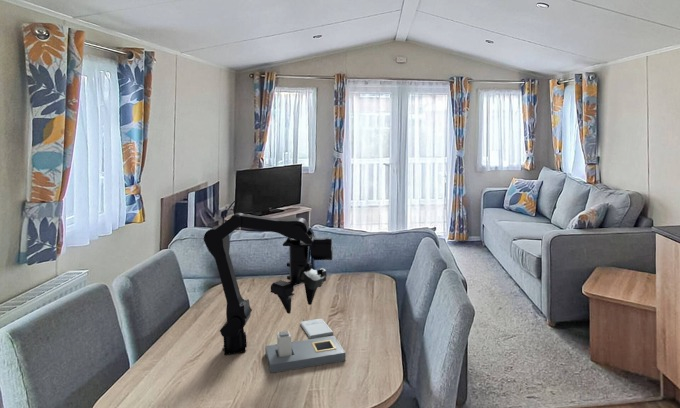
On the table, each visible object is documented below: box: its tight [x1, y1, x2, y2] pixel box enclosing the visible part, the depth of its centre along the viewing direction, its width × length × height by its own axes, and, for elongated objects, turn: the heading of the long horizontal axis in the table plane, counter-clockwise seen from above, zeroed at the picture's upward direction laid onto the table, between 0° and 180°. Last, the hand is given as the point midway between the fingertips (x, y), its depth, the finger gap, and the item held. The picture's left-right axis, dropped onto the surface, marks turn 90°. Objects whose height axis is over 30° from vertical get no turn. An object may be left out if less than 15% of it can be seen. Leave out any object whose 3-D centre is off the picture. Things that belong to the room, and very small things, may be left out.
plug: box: [276, 330, 292, 357], centre depth 126 cm, size 4×4×9 cm
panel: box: [264, 335, 346, 374], centre depth 129 cm, size 22×12×3 cm, turn 107°
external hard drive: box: [299, 318, 334, 339], centre depth 148 cm, size 2×8×12 cm
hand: (299, 308), depth 132 cm, fingers open, 9 cm apart
